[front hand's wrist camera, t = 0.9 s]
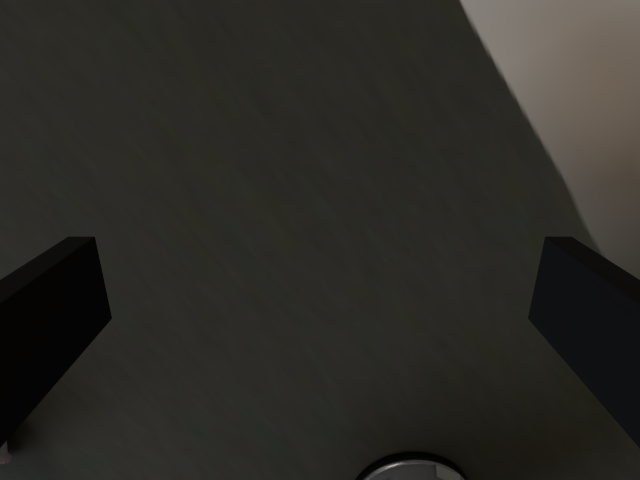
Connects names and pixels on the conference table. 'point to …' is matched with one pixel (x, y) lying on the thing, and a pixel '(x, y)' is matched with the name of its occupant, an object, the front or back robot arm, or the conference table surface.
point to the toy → (5, 454)
